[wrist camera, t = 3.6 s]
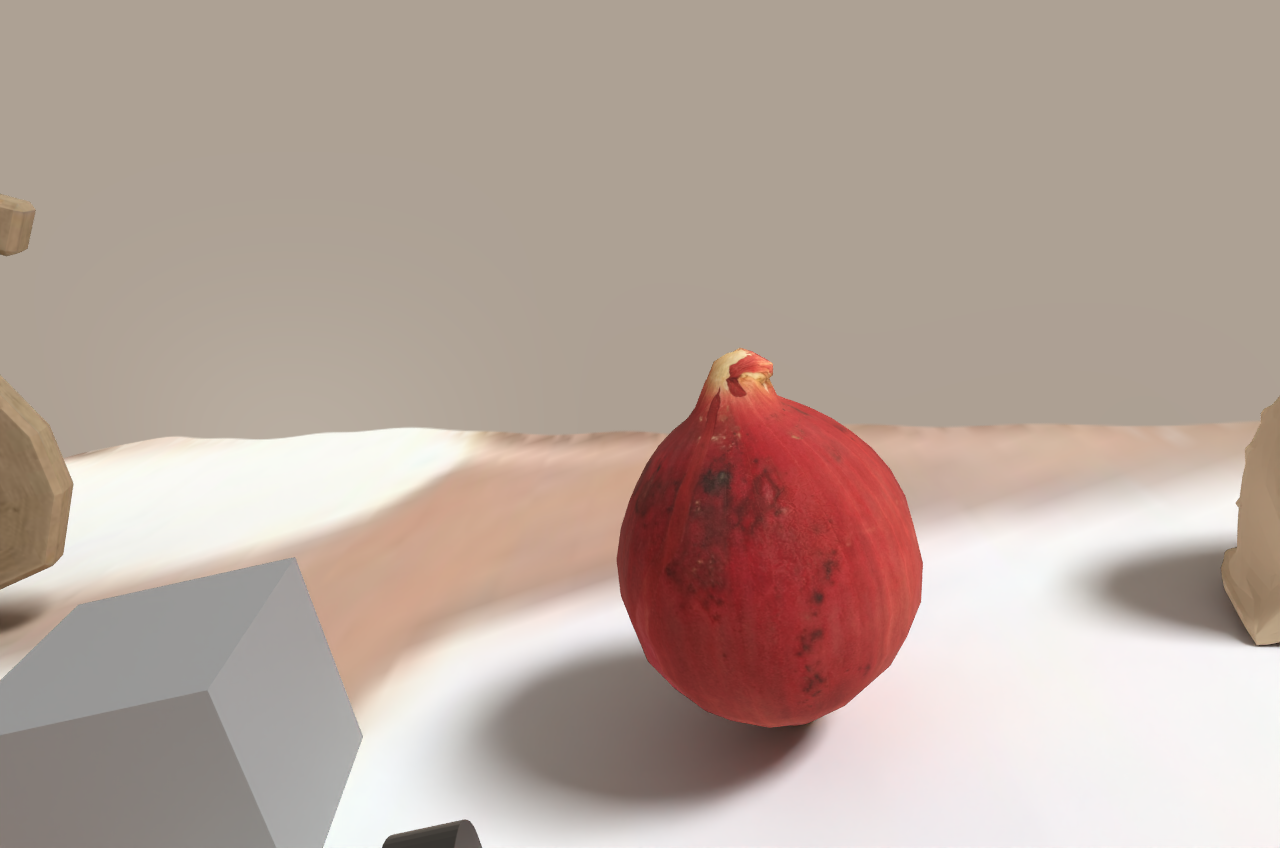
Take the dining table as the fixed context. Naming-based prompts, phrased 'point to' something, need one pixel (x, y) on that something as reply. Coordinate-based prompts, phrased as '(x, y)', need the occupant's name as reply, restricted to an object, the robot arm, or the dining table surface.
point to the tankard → (27, 454)
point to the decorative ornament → (1258, 535)
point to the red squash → (767, 555)
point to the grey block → (179, 721)
